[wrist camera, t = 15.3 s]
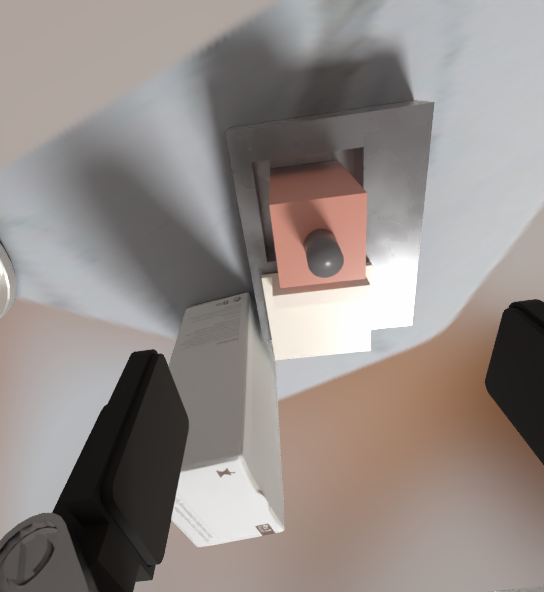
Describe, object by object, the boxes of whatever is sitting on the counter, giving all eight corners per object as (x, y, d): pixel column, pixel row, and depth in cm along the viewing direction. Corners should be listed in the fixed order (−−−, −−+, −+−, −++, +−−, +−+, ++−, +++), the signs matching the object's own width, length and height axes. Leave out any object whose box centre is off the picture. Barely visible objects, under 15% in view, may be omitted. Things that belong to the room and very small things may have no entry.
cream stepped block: (275, 356, 28) (275, 383, 25) (261, 274, 24) (260, 297, 21) (369, 346, 27) (379, 373, 25) (370, 261, 23) (382, 283, 21)
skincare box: (185, 305, 29) (118, 477, 16) (253, 288, 28) (238, 455, 15) (221, 375, 33) (190, 554, 20) (281, 362, 32) (287, 541, 20)
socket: (264, 318, 30) (263, 340, 27) (230, 127, 22) (224, 133, 19) (399, 303, 29) (411, 325, 26) (414, 100, 21) (434, 102, 18)
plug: (270, 169, 23) (268, 219, 14) (338, 160, 22) (378, 205, 14) (277, 233, 25) (281, 309, 17) (339, 225, 25) (375, 298, 16)
